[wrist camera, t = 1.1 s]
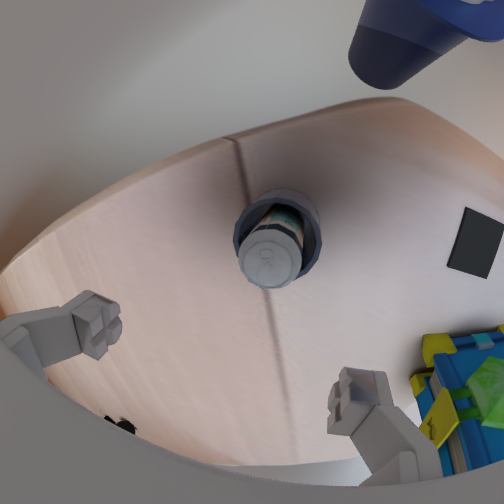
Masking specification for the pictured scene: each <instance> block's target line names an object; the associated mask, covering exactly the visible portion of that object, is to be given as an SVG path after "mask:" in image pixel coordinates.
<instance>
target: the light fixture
mask: <svg viewBox="0 0 504 504" xmlns="http://www.w3.org/2000/svg"><path fill="white" fill-rule="evenodd" d="M99 412H100V411H99ZM100 413H101V412H100ZM101 414H102V413H101ZM102 415H103V414H102ZM103 419H105V420H107V421H109V422H111V423H112V424H114V425H115V423H114V422H113V421H112V420H111V419H110V418H109V417H108V416H105V417H104V418H103ZM116 426H118V427H120V428H122V429H124V430H126V431H128V432H130V433H132V434H134V435H135V429H134V427H133V425H132V424H131V423H129V422H126V421H120V422H118V423H117V424H116Z"/></svg>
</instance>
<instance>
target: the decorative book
mask: <svg viewBox="0 0 504 504" xmlns="http://www.w3.org/2000/svg"><path fill="white" fill-rule="evenodd" d="M422 356H423V359H424V361H425V364H426V366H427V368H429V367H434V372H428V373H420V374H415V375H414V376H413V377H412V378H411V379H410V383H411V387H412V390H413V394H414V397H415V398H416V400H417V404H418V408H419V411H420V415H421V419H422V424H421V425H420V427H419V429H420V430H421V431H422V432H423V433H424V434H425V436H426V437H427V438H428V439H429V440H430V441H431V442H432V443H433V444H434V445H435V446H436V447H437V449H438V453H439V458H440V462H441V467H442V472H443V477H447V476H451V475H456V474H460V473H463V472H467V471H471V470H474V469H478V468H481V467H484V466H487V465H490V464H493V463H496V462H498V461H501V460H504V325H499V326H497V332H491V333H486V332H485V333H479V334H472V335H471V336H466V337H459V338H452V339H451V338H450V337H449V335H448V333H441V334H431V335H424V338H423V347H422Z"/></svg>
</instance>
